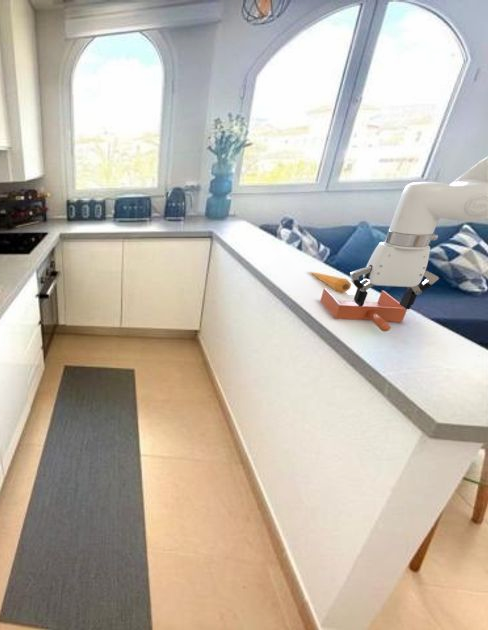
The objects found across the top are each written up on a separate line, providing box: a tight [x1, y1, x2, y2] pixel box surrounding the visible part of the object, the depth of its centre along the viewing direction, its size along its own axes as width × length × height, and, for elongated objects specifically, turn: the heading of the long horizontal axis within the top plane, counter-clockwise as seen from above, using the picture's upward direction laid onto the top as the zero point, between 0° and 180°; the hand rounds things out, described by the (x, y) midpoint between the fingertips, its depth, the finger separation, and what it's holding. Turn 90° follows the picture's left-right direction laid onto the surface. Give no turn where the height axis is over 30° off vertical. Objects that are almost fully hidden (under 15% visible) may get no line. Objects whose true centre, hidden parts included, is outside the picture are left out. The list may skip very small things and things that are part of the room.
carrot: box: [310, 271, 352, 293], centre depth 118 cm, size 20×4×4 cm, turn 175°
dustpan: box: [320, 287, 408, 332], centre depth 94 cm, size 22×15×4 cm
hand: (381, 305), depth 87 cm, fingers open, 9 cm apart
